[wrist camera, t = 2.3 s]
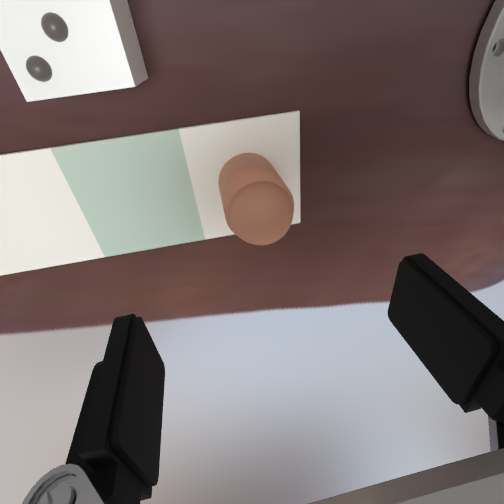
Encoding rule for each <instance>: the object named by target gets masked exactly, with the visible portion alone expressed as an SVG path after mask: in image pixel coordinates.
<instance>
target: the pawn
mask: <svg viewBox="0 0 504 504" xmlns="http://www.w3.org/2000/svg"><path fill="white" fill-rule="evenodd" d="M218 184H219V190H220V195H221V200H222V205H223V210H224V214H225V219H226V222H227V225H228V227H229V228H230V230H231V231H232V232H233V233H234V234H235V235H237V236H238V237H240V238H241V239H243V240H244V241H246V242H248V243H250V244H254V245H268V244H271V243H274V242H276V241H278V240H279V239H280V238H282V237H283V236H284V235H285V234H286V232H287V231H288V230H289V228H290V226H291V223H292V219H293V213H294V199H293V196H292V194H291V192H290V190H289V189H288V187H287V186H286V185H285V183H284V182H283V180H282V179H281V177H280V176H279V175H278V173H277V172H276V170H275V169H274V167H273V166H272V165H271V163H270V162H269V161H268V160H267V159H266V158H264V157H263V156H261V155H259V154H255V153H242V154H239V155H236V156H234V157H232V158H231V159H230V160H228V161H227V162H226V164H225V165H224V166H223V168H222V170H221V172H220V175H219V181H218Z"/></svg>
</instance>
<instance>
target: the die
mask: <svg viewBox="0 0 504 504" xmlns="http://www.w3.org/2000/svg"><path fill="white" fill-rule="evenodd" d="M0 50H1V52H2V54H3V56H4V58H5V60H6V62H7V63H8V65H9V67H10V69H11V71H12V73H13V75H14V77H15V79H16V81H17V83H18V85H19V87H20V89H21V91H22V93H23V95H24V97H25V99H26V101H27V102H29V101H36V100H44V99H51V98H58V97H65V96H72V95H80V94H87V93H94V92H101V91H109V90H116V89H123V88H130V87H136V86H137V85H139V84H140V83H142V82H143V81H145V80H146V79H148V75H147V71H146V67H145V64H144V60H143V56H142V53H141V49H140V45H139V42H138V38H137V34H136V31H135V27H134V23H133V20H132V16H131V12H130V9H129V5H128V1H127V0H0Z"/></svg>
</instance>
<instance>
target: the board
mask: <svg viewBox="0 0 504 504" xmlns="http://www.w3.org/2000/svg"><path fill="white" fill-rule="evenodd" d="M242 153H255V154H259V155H261V156H263V157H264V158H266V159H267V160H268V161H269V162H270V163H271V165H272V166H273V167H274V169H275V170H276V172H277V173H278V175H279V176H280V177H281V179H282V180H283V182H284V183H285V185H286V186H287V187H288V189H289V190H290V192H291V194H292V196H293V199H294V213H293V219H292V223H291V224H296V223H300V111H291V112H284V113H278V114H271V115H264V116H257V117H250V118H244V119H237V120H230V121H223V122H217V123H210V124H203V125H196V126H189V127H183V128H176V129H169V130H162V131H156V132H149V133H142V134H135V135H129V136H122V137H115V138H108V139H101V140H95V141H88V142H81V143H74V144H68V145H61V146H54V147H47V148H40V149H34V150H27V151H20V152H13V153H7V154H0V275H6V274H11V273H17V272H23V271H29V270H34V269H40V268H46V267H51V266H57V265H63V264H68V263H74V262H80V261H85V260H91V259H97V258H102V257H108V256H114V255H120V254H125V253H131V252H137V251H142V250H148V249H154V248H159V247H165V246H171V245H176V244H182V243H188V242H194V241H199V240H205V239H211V238H216V237H222V236H228V235H233V234H234V233H233V232H232V231H231V230H230V228H229V227H228V225H227V222H226V219H225V214H224V210H223V205H222V200H221V195H220V190H219V184H218V181H219V175H220V172H221V170H222V168H223V166H224V165H225V164H226V162H227V161H228V160H230V159H231V158H232V157H234V156H236V155H239V154H242Z"/></svg>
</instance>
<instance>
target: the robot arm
mask: <svg viewBox="0 0 504 504" xmlns="http://www.w3.org/2000/svg"><path fill="white" fill-rule="evenodd" d="M469 98H470V103H471V109H472V113H473V115H474V117H475V119H476V121H477V123H478V125H479V126H480V127H481V128H482V129H483V130H484V131H485V132H486V133H487V134H488V135H490V136H492V137H494V138H496V139H498V140H502V141H504V0H496V1H495V2H494V4H493V6H492V8H491V10H490V13H489V15H488V17H487V19H486V21H485V24H484V26H483V28H482V30H481V33H480V36H479V39H478V42H477V45H476V49H475V52H474V55H473V60H472V66H471V71H470V77H469ZM388 317H389V319H390V321H391V322H392V324H393V325H394V326H395V328H396V329H397V330H398V331H399V333H400V334H401V335H402V337H403V338H404V339H405V341H406V342H407V343H408V345H409V346H410V347H411V348H412V350H413V351H414V352H415V354H416V355H417V356H418V358H419V359H420V360H421V362H422V363H423V364H424V365H425V367H426V368H427V369H428V370H429V372H430V373H431V374H432V376H433V377H434V378H435V380H436V381H437V382H438V384H439V385H440V386H441V388H442V389H443V390H444V391H445V393H446V394H447V395H448V397H449V398H450V399H451V400H452V401H453V402H454V403H455V404H459V405H460V406H461V408H462V409H463V410H464V412H465V413H467V412H470V411H474V410H478V409H481V407H482V409H483V410H484V411H485V412H486V413H487V414H488V422H489V435H490V450H491V452H488V453H485V454H481V455H478V456H474V457H471V458H467V459H463V460H460V461H456V462H453V463H449V464H445V465H442V466H438V467H435V468H432V469H428V470H425V471H421V472H417V473H414V474H410V475H407V476H403V477H400V478H396V479H393V480H389V481H386V482H382V483H379V484H375V485H372V486H368V487H365V488H361V489H358V490H354V491H351V492H347V493H344V494H340V495H337V496H334V497H330V498H327V499H323V500H319V501H316V502H312V503H309V504H504V321H503V320H502V319H501V318H499V317H498V316H497V315H496V314H495V313H493V312H492V311H491V310H490V309H489V308H488V307H486V306H485V305H484V304H483V303H481V302H480V301H479V300H478V299H477V298H476V297H474V296H473V295H472V294H471V293H470V292H468V291H467V290H466V289H465V288H464V287H463V286H461V285H460V284H459V283H458V282H457V281H455V280H454V279H453V278H452V277H451V276H449V275H448V274H447V273H446V272H445V271H444V270H442V269H441V268H440V267H439V266H438V265H436V264H435V263H434V262H433V261H432V260H430V259H429V258H428V257H427V256H426V255H424V254H421V253H420V254H415V255H410V256H406V257H404V258H403V260H402V261H401V262H400V264H399V267H398V271H397V275H396V279H395V283H394V288H393V292H392V296H391V300H390V304H389V308H388ZM164 379H165V368H164V363H163V361H162V359H161V357H160V355H159V353H158V351H157V348H156V347H155V345H154V342H153V340H152V338H151V336H150V334H149V332H148V330H147V328H146V326H145V324H144V321H143V319H142V318H141V317H136V316H135V315H134V314H130V315H125V316H121V317H116V318H115V319H114V321H113V325H112V329H111V333H110V336H109V340H108V344H107V348H106V352H105V356H104V359H103V361H101V362H98V363H97V364H96V365H95V366H94V369H93V371H92V375H91V378H90V382H89V385H88V388H87V392H86V395H85V399H84V402H83V405H82V409H81V412H80V416H79V419H78V423H77V426H76V429H75V433H74V436H73V440H72V443H71V447H70V450H69V454H68V457H67V461H66V464H65V465H61V466H59V467H56V468H54V469H52V470H51V471H49V472H48V473H47V474H45V475H44V476H43V477H42V478H41V479H40V480H39V481H38V482H37V483H36V484H35V485H34V486H33V487H32V488H31V490H30V492H29V493H28V495H27V496H26V498H25V499H24V501H23V504H140V501H141V500H145V499H149V498H151V495H152V486H155V485H156V484H157V482H158V476H159V459H160V444H161V428H162V412H163V396H164Z"/></svg>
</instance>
